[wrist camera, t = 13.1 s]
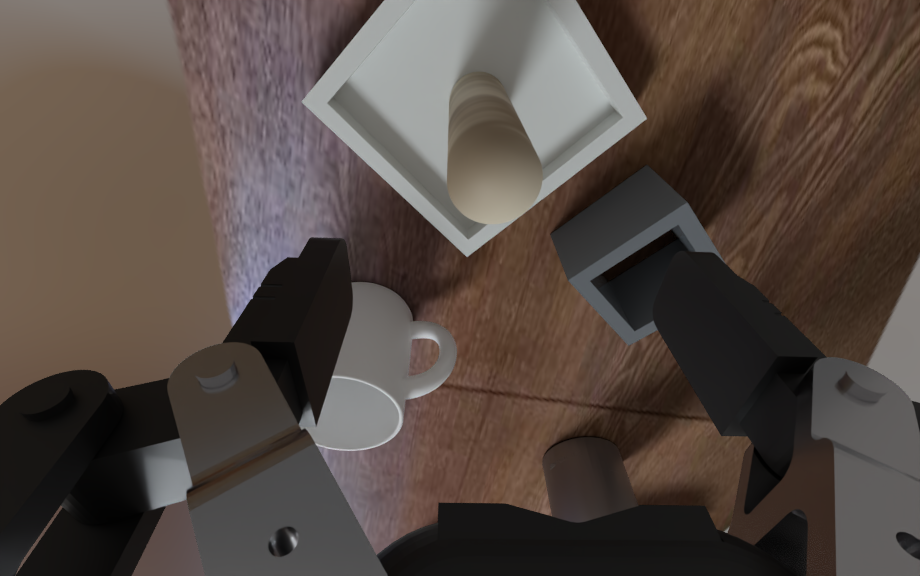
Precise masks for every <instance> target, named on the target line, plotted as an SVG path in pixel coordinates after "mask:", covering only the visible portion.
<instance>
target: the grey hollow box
mask: <svg viewBox="0 0 920 576" xmlns="http://www.w3.org/2000/svg"><path fill="white" fill-rule="evenodd" d="M669 230H672V232H673V233H674V235H675V236H676V237H677V240H675V241H673V242H672V243H670V244H669V245H667V246H665V247H664V248H662V249H661V250H659V251H657V252H656V253H654V254H653V255H651V256H649V257H648V258H646V259H645V260H643V261H641V262H640V263H638V264H637V265H635V266H633V267H632V268H630V269H629V270H627V271H625V272H624V273H622V274H621V275H619V276H617V277H616V278H614V279H613V280H611V281H609V282H608V281H607V279H606V278H605V277H604V276H603V275H602V273H603V272H605V271H606V270H608V269H609V268H611V267H613V266H614V265H616V264H617V263H619V262H620V261H622V260H624V259H625V258H627V257H628V256H630V255H631V254H633V253H634V252H636V251H638V250H639V249H641V248H642V247H644V246H645V245H647V244H649V243H650V242H652V241H653V240H655V239H656V238H658V237H660V236H661V235H663V234H664V233H666V232H667V231H669ZM550 235H551V238H552V240H553V243H554V245H555V248H556V250H557V253H558V256H559V258H560V261H561V263H562V266H563V269H564V271H565V274H566V276H567V279H568V281H569V282H570V283H571V284H572V285H573V286H574V287H575V288H576V289H577V290H578V292H579V293H580V294H581V295H582V296H583V297H584V298H585V299H586V300H587V301H588V302H589V303H590V305H591V306H592V307H593V308H594V309H595V310H596V311H597V312H598V313H599V314H600V315H601V316H602V317H603V319H604V320H605V321H606V322H607V323H608V324H609V325H610V326H611V327H612V328H613V329H614V330H615V331H616V333H617V334H618V335H619V336H620V337H621V338H622V339H623V340H624V341H625V342H626V343H627V344H628V346H629V345H631V344H633V343H635V342H636V341H638V340H640V339H642V338H644V337H646V336H647V335H649V334H651V333H653V332H655V331H657V330H658V329H657V328H656V326H655V323H654V320H653V304H654V301H655V298H656V296H657V294H658V291H659V289H660V286H661V284H662V281H663V279H664V277H665V274H666V272H667V269H668V267H669V264H670V262H671V260H672V258H673V256H674V255H675V254H676V253H678V252H680V251H690V252H712V253H715V254H716V255H717V256H718V257H719V258H720V259H721V260H722V261H723V259H722V257H721V256H720V254H719V253H718V251H717V249H716V248H715V246H714V244H713V243H712V241H711V240H710V238H709V236H708V235H707V233H706V232H705V230H704V228H703V227H702V225H701V223H700V222H699V220H698V219H697V217H696V215H695V214H694V212H693V211H692V209H691V207H690V206H689V204H688V202H687V201H685V200H684V199H683V198H682V197H681V196H680V195H679V194H678V193H677V192H676V191H675V190H674V189H673V188H672V187H671V186H669V185H668V184H667V183H666V182H665V181H664V180H663V179H662V178H661V177H660V176H659V175H658V174H657V173H656V172H654V171H653V170H652V169H651V168H650V167H649V166H648V165H646V166H644V167H643V168H642V169H640V170H639V171H637V172H636V173H635V174H633V175H632V176H630V177H629V178H628V179H626V180H625V181H624V182H622V183H621V184H619V185H618V186H617V187H615V188H614V189H612V190H611V191H610V192H608V193H607V194H606V195H604V196H603V197H601V198H600V199H599V200H597V201H596V202H594V203H593V204H592V205H590V206H589V207H588V208H586V209H585V210H583V211H582V212H581V213H579V214H578V215H576V216H575V217H574V218H572V219H571V220H569V221H568V222H567V223H565V224H564V225H563V226H561V227H560V228H558V229H557V230H556V231H554V232H553V233H551V234H550ZM723 262H724V261H723ZM724 263H725V262H724Z"/></svg>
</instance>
